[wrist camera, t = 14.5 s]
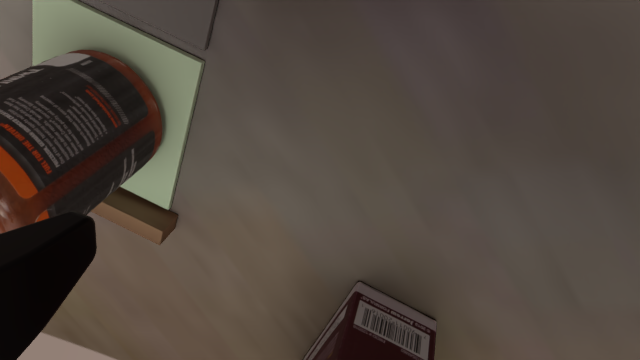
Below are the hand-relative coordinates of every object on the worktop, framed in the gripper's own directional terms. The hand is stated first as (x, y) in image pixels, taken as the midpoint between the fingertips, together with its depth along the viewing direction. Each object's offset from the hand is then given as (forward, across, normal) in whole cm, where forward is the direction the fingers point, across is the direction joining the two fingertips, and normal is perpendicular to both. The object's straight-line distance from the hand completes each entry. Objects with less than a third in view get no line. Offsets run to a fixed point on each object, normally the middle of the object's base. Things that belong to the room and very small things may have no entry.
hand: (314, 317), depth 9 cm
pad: (+12, +13, +5) cm, 18 cm away
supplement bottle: (+12, +12, +5) cm, 18 cm away
